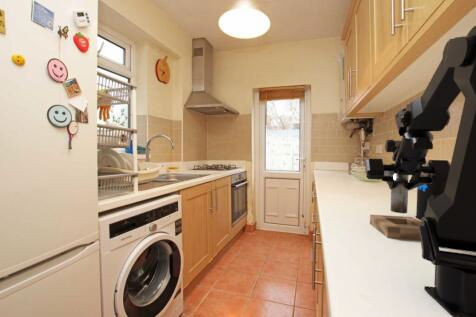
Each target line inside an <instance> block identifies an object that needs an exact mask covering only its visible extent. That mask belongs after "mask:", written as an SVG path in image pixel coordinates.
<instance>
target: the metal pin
mask: <svg viewBox="0 0 476 317" xmlns="http://www.w3.org/2000/svg"><path fill="white" fill-rule="evenodd" d="M393 176H394V184H393V188H392V189H390V211H391V212H393V213H398V214H407V213H408V204H409V203H408V199H409V191H408V183H409V176H410V175H398V174H394V175H393Z"/></svg>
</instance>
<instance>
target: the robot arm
mask: <svg viewBox="0 0 476 317" xmlns="http://www.w3.org/2000/svg"><path fill="white" fill-rule="evenodd" d="M460 94H462V95H463V96H464V101H463V102H464V103H463V108H462V112H461V116H460V120H459V126H458V130H457V135H456V138H455V143H454V148H453V152H452V156H451V161H450V162H449V161H448V159H447V160H446V159H444V160H443V159H428V161H427V160H426V157H427V155H428V153H429V150H433V149H434V145H433V144H434V143H433V141H434V135H433V134H432V132H441V131H443V130H444V129H445V128H446V127H447V126H448V124H449V123H450V120H451V113H450V112H451V111H450V107H451V106H452V104H453V103H454V102H455V100H457V97H459V95H460ZM394 121H395V124H396V128H397V129H396V130H397V131H398V134H399V137H401V140H394V139H386V141H385V144H384V150H385V152H386V153H392V158H391V159H392V162H394V163H392V162H391V163H390V164H384V161H383V158H367V159H366V160H365V163H364V165H365V174H366V179H368V180H377V181H378V180H379V181H380V180H381V181H382V182H385V183H386V184H387V185H388V188H389V190H391V189H392V188H393V184H394V176H393V175H394V174H398V175H409V176H411V177H410V179H409V180H408V192H409V191H412V190H414V189H417V187H419V186H422V185H425V184H431V183H432V182H433V181H432V178H431V177H432V176H431V175H433V173H434V176H435V177H434V181H435V182H437V183H446V187H445V191H444V192H443V193H442V194H441V195H431V196H430V197H429V198H428V201H427V208H426V211H425V214H424V215H425V217H422V219H421V220H420V221H421V223H420V225H419V232H420V238H421V240H420V243H421V244H420V246H421V258H422V259H423V260H426V261H428V262H430V263H431V264H433V266H434V267H435V268H434V286H427V285H424V287H423V288H424V291H425V292H426V293H427V294H429V296H431V297H432V299H434V300H435V301H436V303H438V304H439V305H440V306H441V307H442V308H443V309H444V310H445V311H446V312H448V314H450V315H451V316H454V317H476V25H474V26H473V27H472V28H471V29H470V30H469V32H468V33H467V35H464V36H463V35H462V36H457V37H453V38H449V39H448V40H447V42H446V43H445V45H444V48H443V51H442V59H441V60H440V63H439V64H438V66H437V68H436V69H435V71H434V72H433V75H432V77H431V79H430V81H429V83H428V84H427V86H426V87H425V90H424V92H423V93H422V95H421V96H419V97H417V98H416V99H413V100H411V101H410V103H409V104H406V107H404V108H403V109H401V110H399V111H398V112H397V113H396V114H395V116H394ZM440 249H446V250H454V251H446V250H440ZM455 251H456V252H455ZM457 251H462V252H467V253H461V252H457ZM468 252H469V253H470V254H469V253H468ZM471 253H475V254H471Z"/></svg>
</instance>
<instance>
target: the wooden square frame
mask: <svg viewBox="0 0 476 317" xmlns="http://www.w3.org/2000/svg"><path fill="white" fill-rule="evenodd" d="M420 223H421V220H419V219H417V218H416V217H412V216H404V215H403V216H402V215H401V216H399V215H387V214H386V215H383V214H370V215H369V225H371V226H372V227H373V228H375V229H376V230H377V231H378V232H380V233H381V234H382V235H384V237H386V238H389V239H405V240H419V241H421V238H420V232H419V225H420Z"/></svg>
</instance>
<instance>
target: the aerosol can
mask: <svg viewBox="0 0 476 317" xmlns="http://www.w3.org/2000/svg"><path fill="white" fill-rule="evenodd" d="M431 176H432V177H431V178H432V181H433V182H432V183H431V184H425V185H422V186H419V187H417V188H416V211H415V213H416V214H415V217H414V218H415V219H417V220H419V221H421V219H422V217H425V215H424V214H425V211H426V208H427V201H428V198H429V197H430V196H431V195H441V194H442V193H443V192H444V191H445V187H446V183H437V182H435V181H434V177H435V176H434V173H433V175H431Z"/></svg>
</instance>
